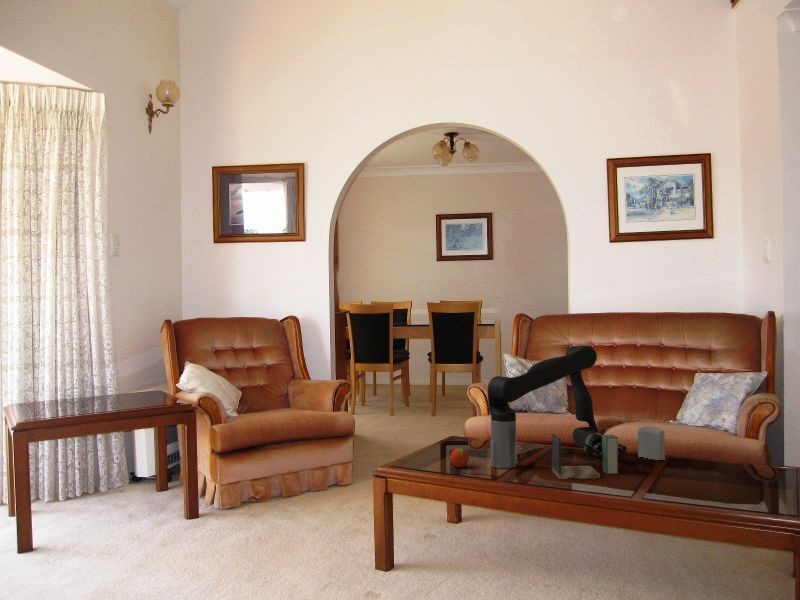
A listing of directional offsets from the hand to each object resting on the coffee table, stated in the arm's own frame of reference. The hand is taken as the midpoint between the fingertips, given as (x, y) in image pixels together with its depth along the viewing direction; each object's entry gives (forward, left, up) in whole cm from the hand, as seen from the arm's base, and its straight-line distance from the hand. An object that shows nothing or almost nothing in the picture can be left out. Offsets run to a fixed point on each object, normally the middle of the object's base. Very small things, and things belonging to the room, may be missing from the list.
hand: (611, 453), depth 245 cm
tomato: (-53, +13, -7) cm, 54 cm away
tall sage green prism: (0, +1, -7) cm, 7 cm away
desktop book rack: (-13, -1, -7) cm, 15 cm away
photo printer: (+22, +21, -7) cm, 32 cm away
